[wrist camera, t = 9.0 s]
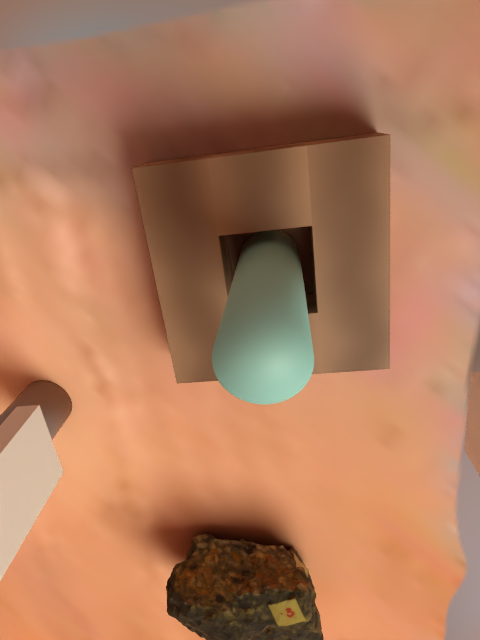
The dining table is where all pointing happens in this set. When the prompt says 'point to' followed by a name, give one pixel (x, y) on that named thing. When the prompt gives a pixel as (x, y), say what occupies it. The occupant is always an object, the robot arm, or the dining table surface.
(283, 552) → the rock
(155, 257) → the hole block
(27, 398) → the short dowel
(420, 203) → the dining table surface
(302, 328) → the long dowel
